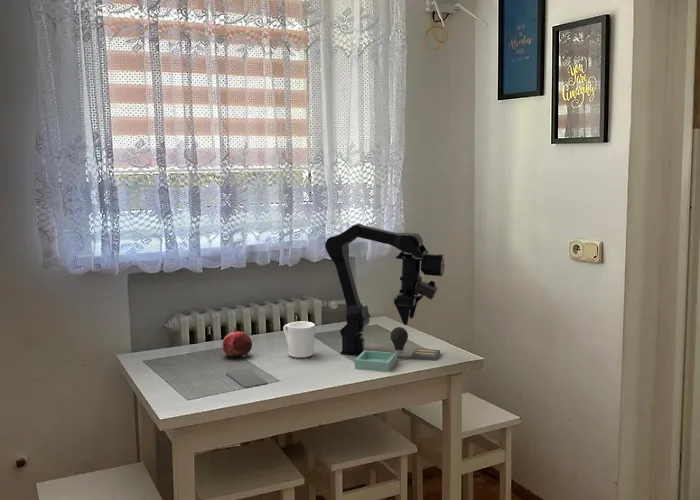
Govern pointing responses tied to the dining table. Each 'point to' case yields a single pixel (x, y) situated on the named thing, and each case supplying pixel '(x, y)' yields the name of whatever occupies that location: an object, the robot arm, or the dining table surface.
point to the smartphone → (246, 378)
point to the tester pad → (425, 354)
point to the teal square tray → (375, 360)
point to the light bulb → (399, 340)
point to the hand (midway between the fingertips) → (408, 321)
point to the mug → (300, 339)
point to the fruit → (237, 343)
